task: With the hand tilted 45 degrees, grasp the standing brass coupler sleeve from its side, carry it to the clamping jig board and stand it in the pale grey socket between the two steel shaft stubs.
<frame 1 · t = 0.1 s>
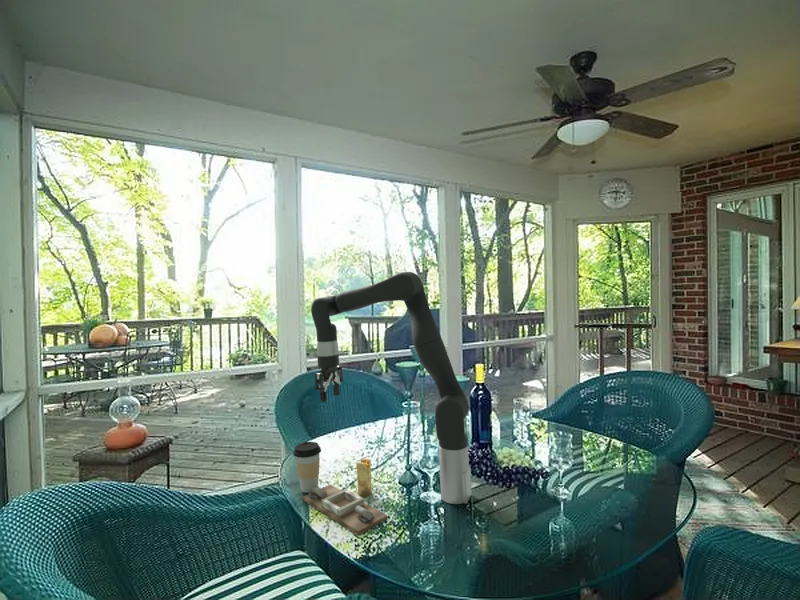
hand: (330, 398, 160), 29 cm above the table, tool pointing down, fingers open, 8 cm apart
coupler: (365, 493, 150), on the table
coffee cup: (309, 489, 155), on the table
clamping jig board: (343, 509, 140), on the table
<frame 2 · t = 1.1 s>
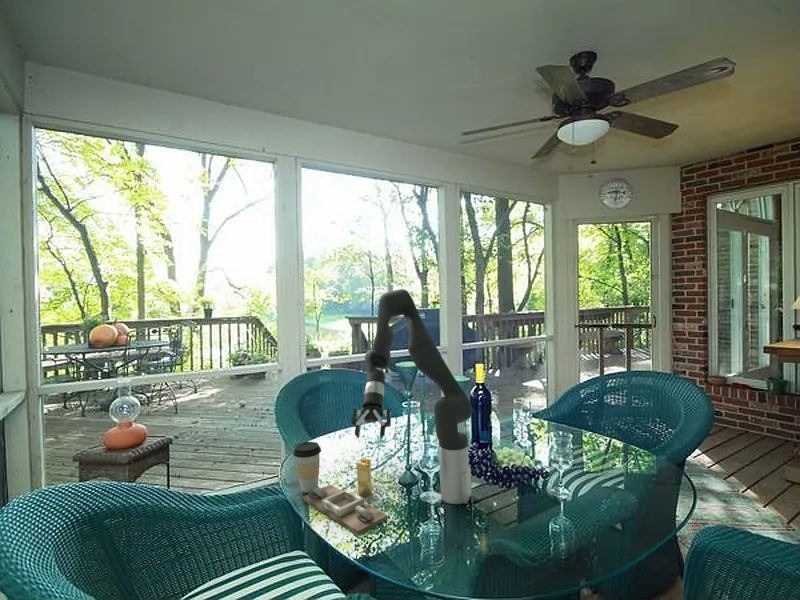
hand: (369, 437, 160), 15 cm above the table, tool tilted 45°, fingers open, 8 cm apart
nothing on the table moved.
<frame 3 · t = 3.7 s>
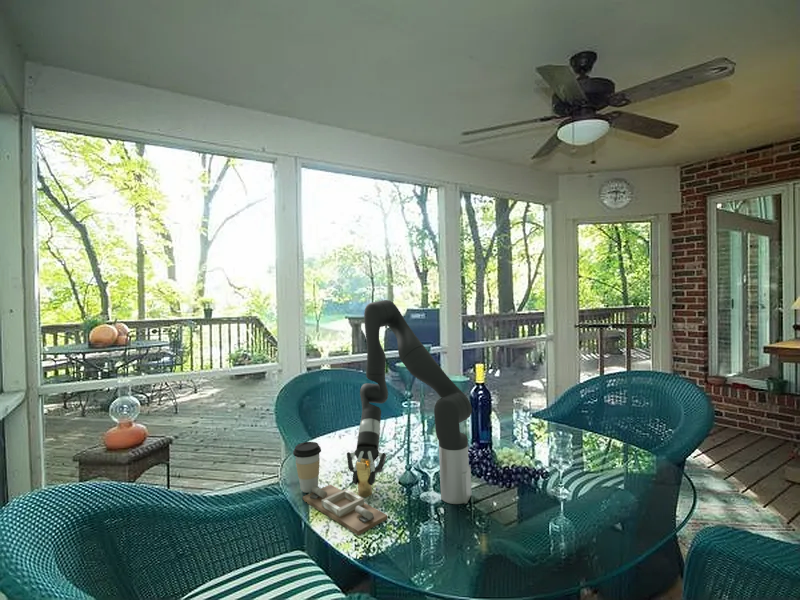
hand: (363, 484, 148), 4 cm above the table, tool tilted 45°, fingers closed on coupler, 4 cm apart
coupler: (365, 493, 150), on the table, touching gripper
everything else where it was.
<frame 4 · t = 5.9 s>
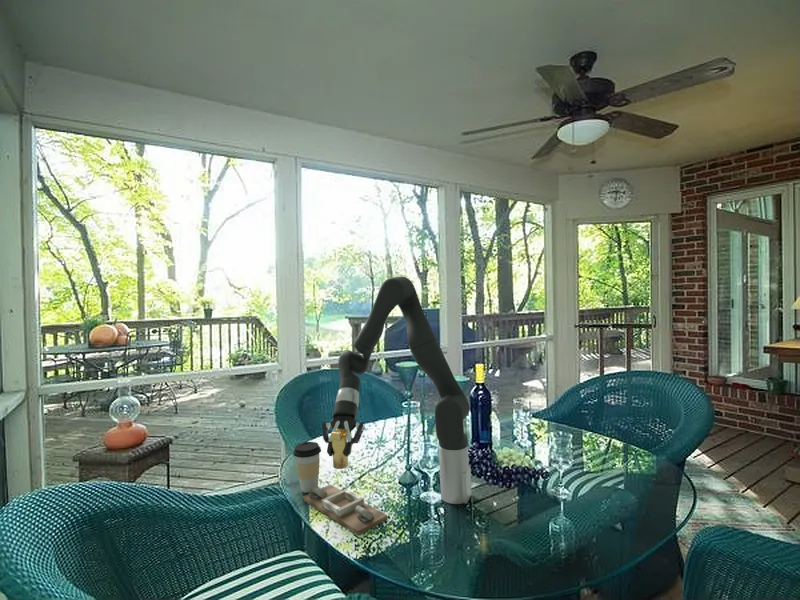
hand: (338, 455, 138), 18 cm above the table, tool tilted 45°, fingers closed on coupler, 4 cm apart
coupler: (340, 465, 140), point 14 cm above the table, touching gripper
everything else where it was.
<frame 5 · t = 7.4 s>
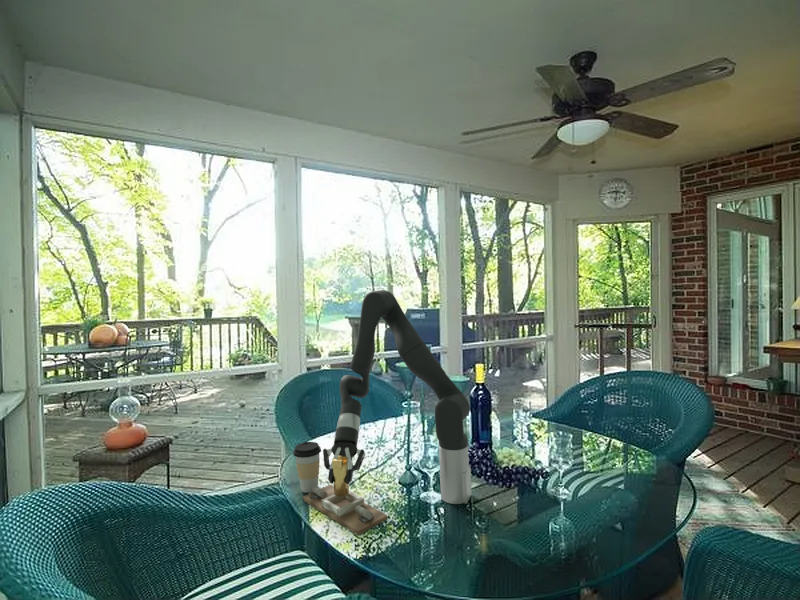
hand: (339, 482, 138), 9 cm above the table, tool tilted 45°, fingers closed on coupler, 4 cm apart
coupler: (341, 492, 140), point 5 cm above the table, touching gripper
everything else where it was.
when the fingers open (7 cm above the table, at t = 8.2 s): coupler drops 2 cm, resting on clamping jig board.
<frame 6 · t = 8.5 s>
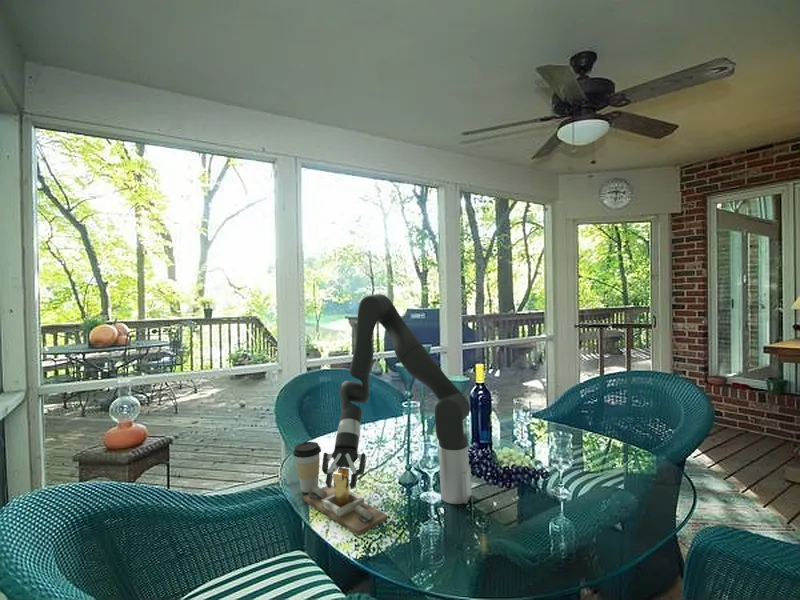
hand: (340, 487, 138), 8 cm above the table, tool tilted 45°, fingers open, 6 cm apart
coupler: (343, 504, 140), point 1 cm above the table, touching clamping jig board
everything else where it was.
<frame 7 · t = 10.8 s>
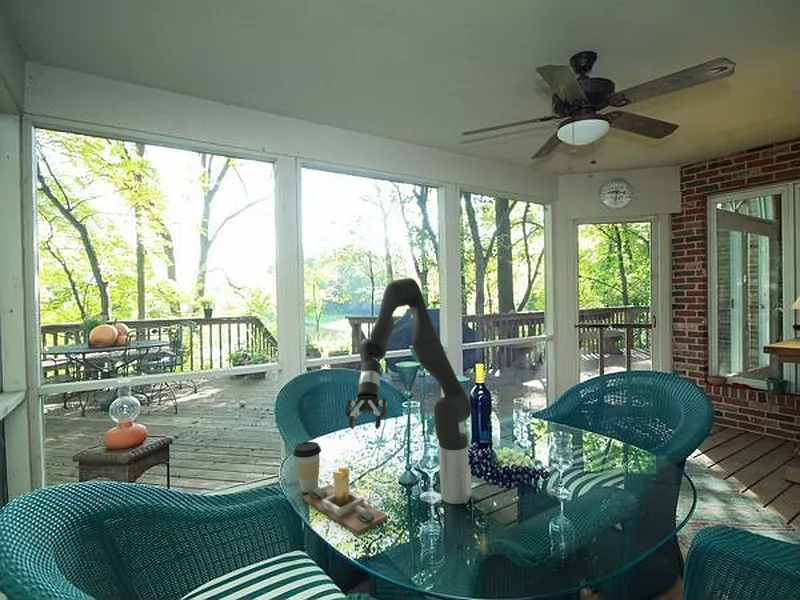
hand: (364, 428, 152), 21 cm above the table, tool tilted 45°, fingers open, 8 cm apart
nothing on the table moved.
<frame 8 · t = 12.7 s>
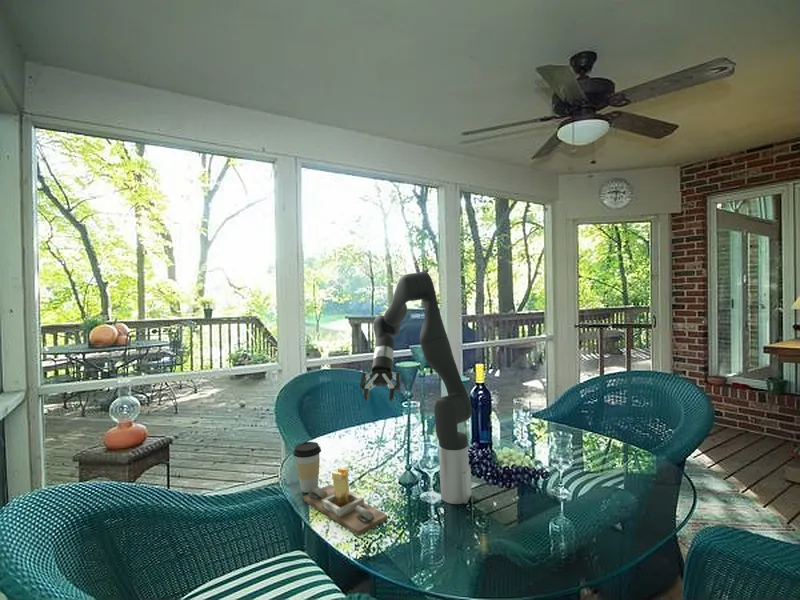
hand: (378, 400, 157), 29 cm above the table, tool tilted 45°, fingers open, 8 cm apart
nothing on the table moved.
at the end: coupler 0.2 cm from the clamping jig board (horizontally); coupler tilted 2°; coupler point 1.3 cm above the table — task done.
